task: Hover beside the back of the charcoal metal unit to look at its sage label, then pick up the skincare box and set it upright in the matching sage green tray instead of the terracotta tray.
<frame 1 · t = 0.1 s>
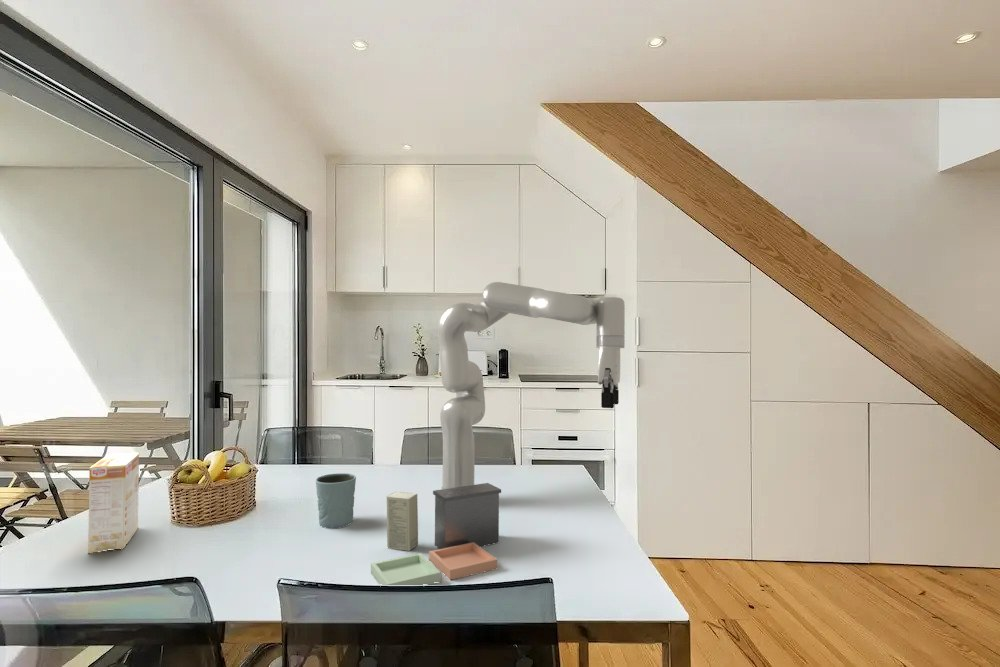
hand: (610, 405, 142), 31 cm above the table, tool pointing down, fingers open, 9 cm apart
sage tray: (405, 577, 107), on the table
charcoal unit: (466, 544, 125), on the table
coffeecake box: (114, 541, 126), on the table
grey-green cup: (335, 523, 139), on the table
skincare box: (402, 547, 123), on the table
terracotta tray: (462, 564, 113), on the table
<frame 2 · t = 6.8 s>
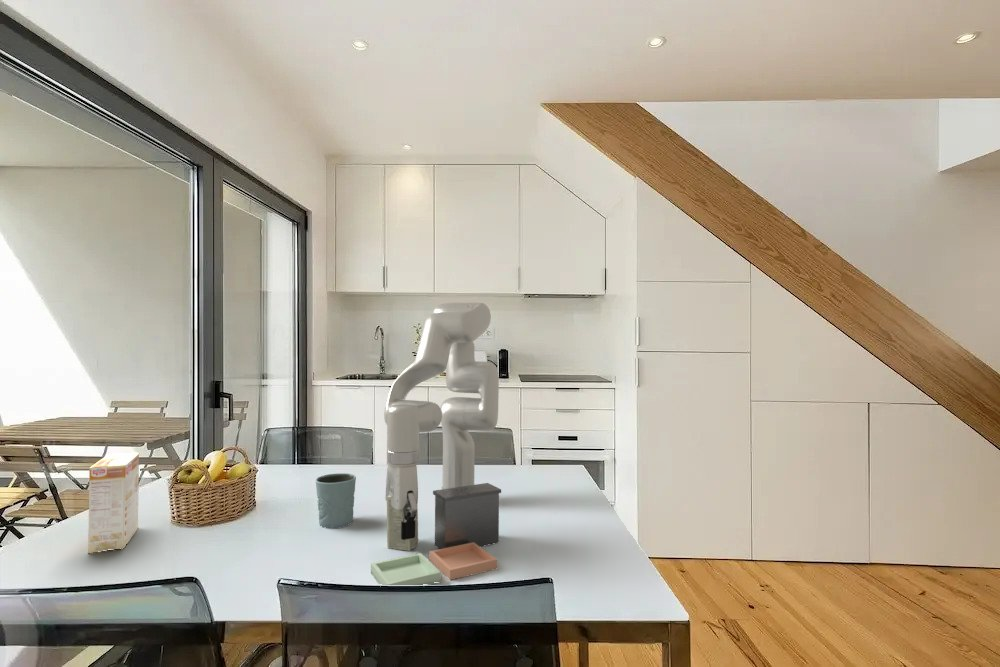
hand: (402, 532, 123), 3 cm above the table, tool pointing down, fingers closed on skincare box, 7 cm apart
skincare box: (402, 547, 123), on the table, touching gripper
everything else where it was.
when the fingers open (5 cm above the table, at t = 12.8 s): skincare box drops 1 cm, resting on sage tray.
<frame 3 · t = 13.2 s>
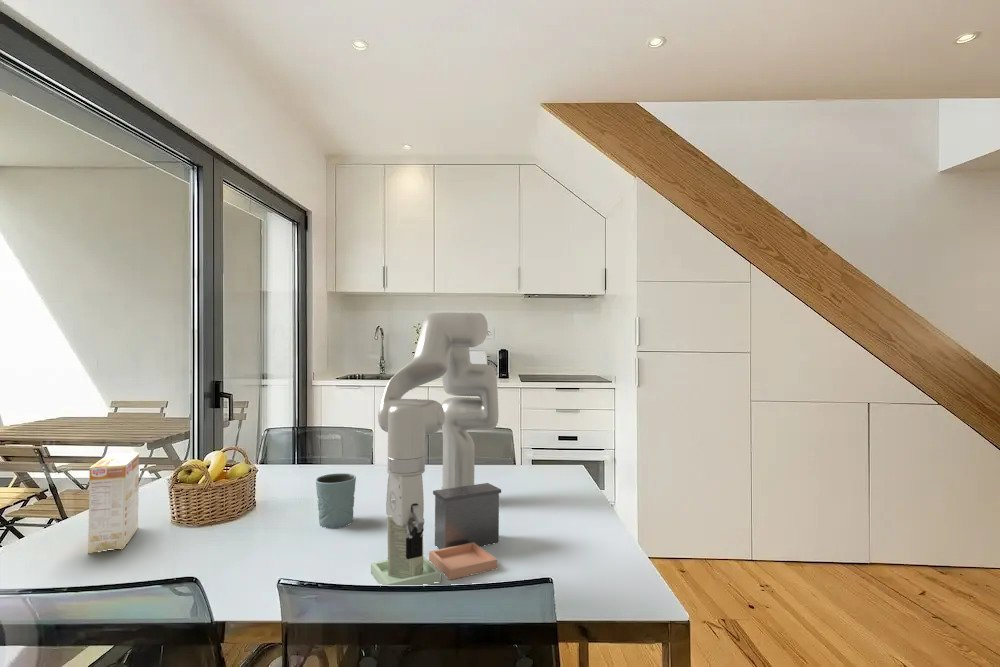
hand: (405, 548, 107), 6 cm above the table, tool pointing down, fingers open, 9 cm apart
skincare box: (405, 574, 107), resting on sage tray
everything else where it was.
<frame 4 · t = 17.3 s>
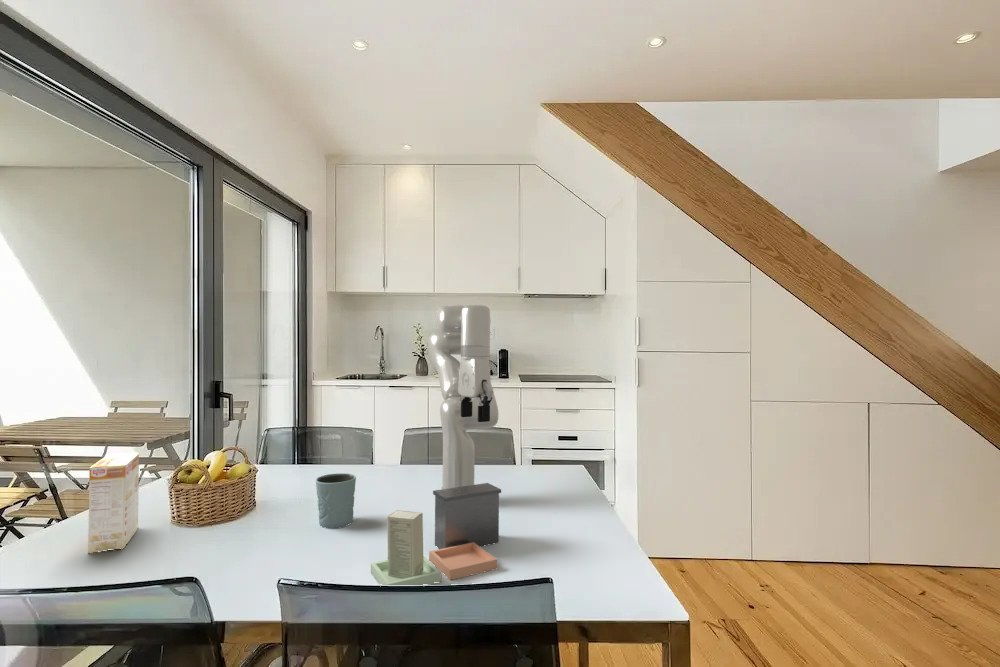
hand: (474, 419, 135), 28 cm above the table, tool pointing down, fingers open, 9 cm apart
nothing on the table moved.
at the end: skincare box inside the target area on the sage tray (0.4 cm from its centre), point 0.4 cm above the sage tray's base; skincare box tilted 0°; the gripper is holding nothing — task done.
